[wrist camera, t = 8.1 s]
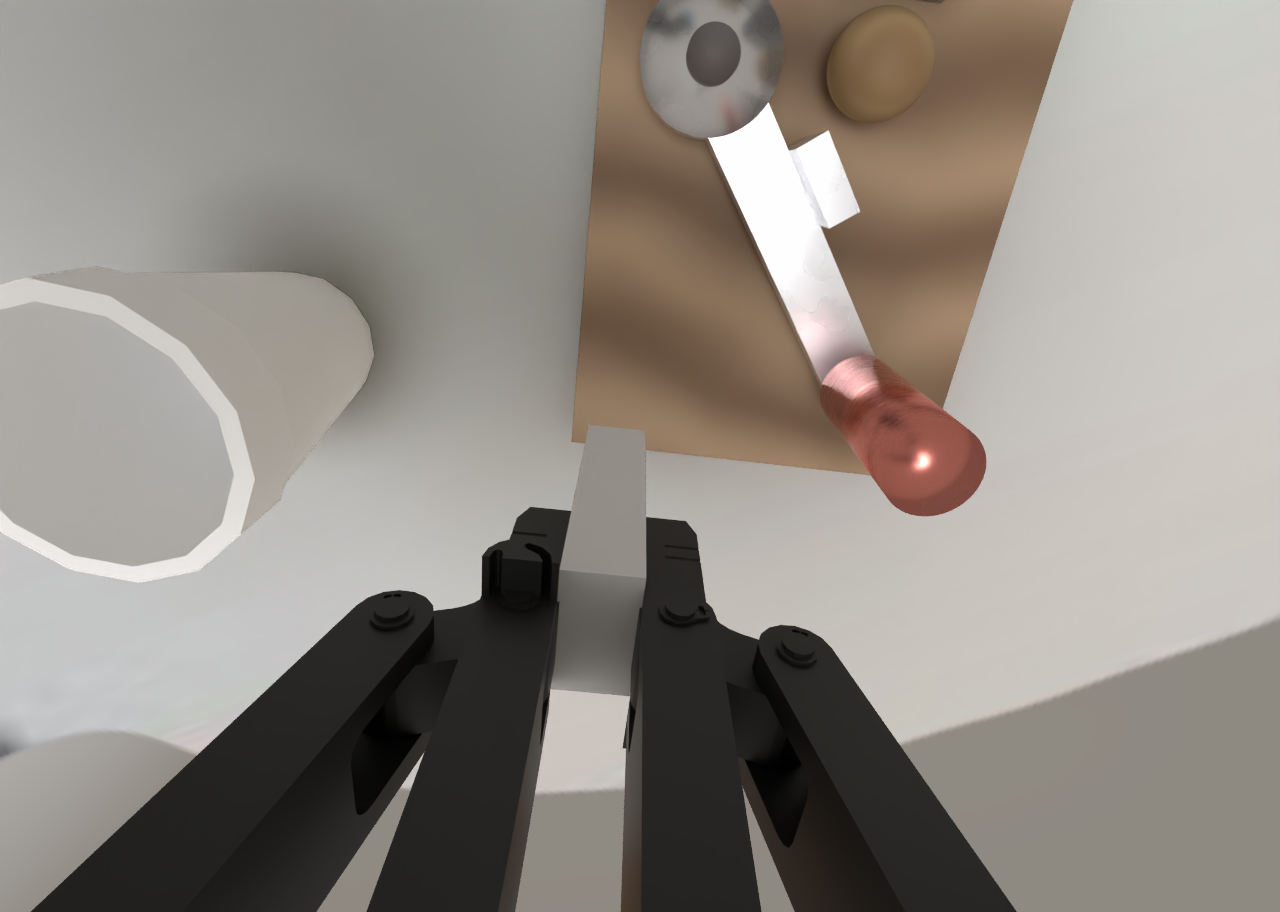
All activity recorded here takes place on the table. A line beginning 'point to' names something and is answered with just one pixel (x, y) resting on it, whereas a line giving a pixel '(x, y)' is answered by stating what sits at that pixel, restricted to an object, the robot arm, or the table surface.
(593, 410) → the board
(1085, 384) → the table surface
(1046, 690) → the table surface
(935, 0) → the two-tone textured tile
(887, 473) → the lever
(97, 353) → the foam cup
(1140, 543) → the table surface
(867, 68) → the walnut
